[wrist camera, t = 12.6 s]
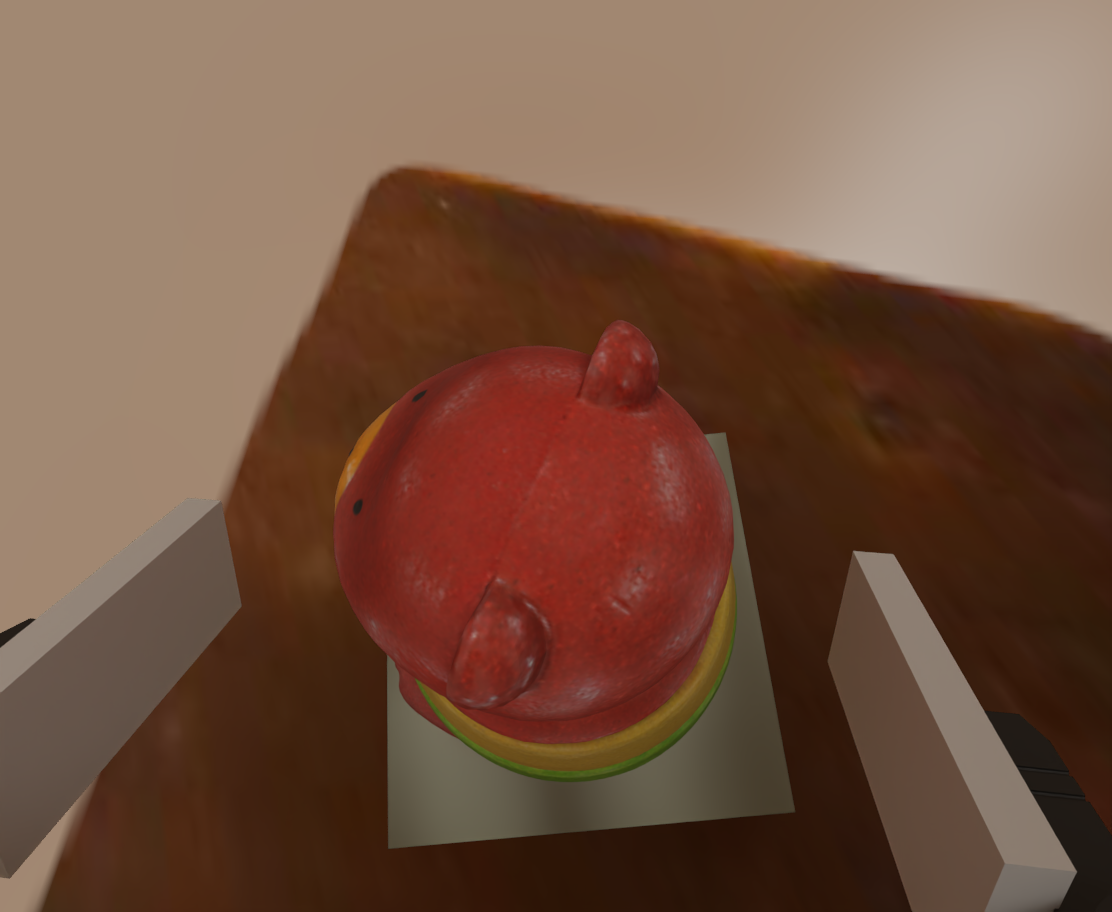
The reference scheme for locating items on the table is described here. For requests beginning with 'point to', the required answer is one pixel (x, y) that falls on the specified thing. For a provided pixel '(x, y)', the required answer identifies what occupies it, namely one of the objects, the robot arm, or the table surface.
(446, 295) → the table surface
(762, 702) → the plinth
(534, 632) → the stacking bear
